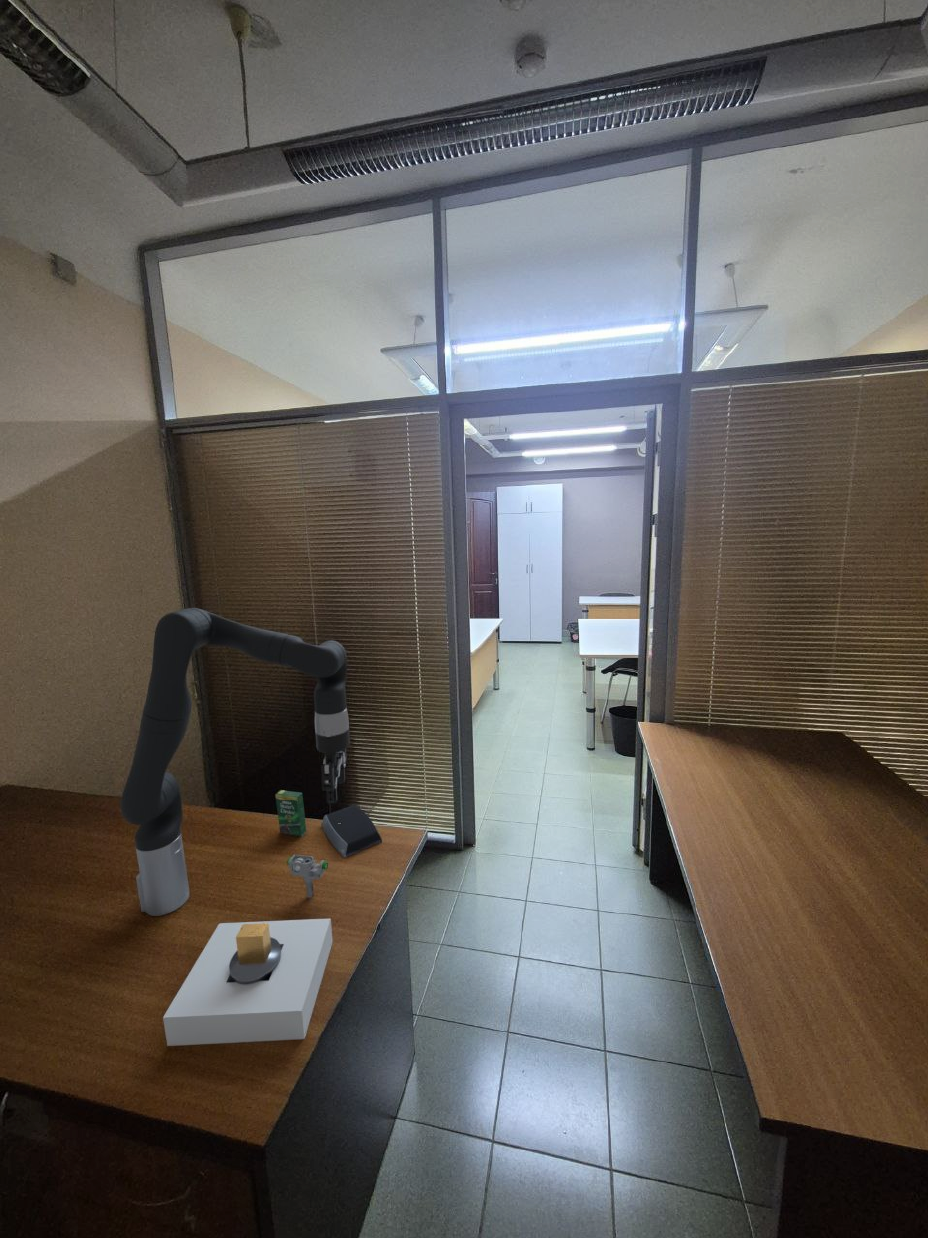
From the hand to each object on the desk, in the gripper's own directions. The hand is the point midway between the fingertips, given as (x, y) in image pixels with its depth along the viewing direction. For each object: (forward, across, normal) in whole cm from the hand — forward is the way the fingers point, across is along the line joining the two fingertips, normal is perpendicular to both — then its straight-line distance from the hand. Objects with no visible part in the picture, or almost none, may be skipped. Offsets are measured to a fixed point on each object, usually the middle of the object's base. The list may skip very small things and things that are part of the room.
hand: (336, 792), depth 109 cm
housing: (+29, +22, -12) cm, 38 cm away
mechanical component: (+29, -2, -9) cm, 30 cm away
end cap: (+29, +22, -12) cm, 38 cm away
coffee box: (+29, -28, -21) cm, 45 cm away
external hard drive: (+29, -26, -3) cm, 40 cm away
